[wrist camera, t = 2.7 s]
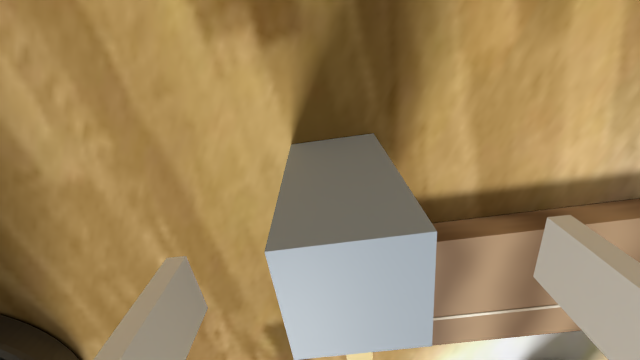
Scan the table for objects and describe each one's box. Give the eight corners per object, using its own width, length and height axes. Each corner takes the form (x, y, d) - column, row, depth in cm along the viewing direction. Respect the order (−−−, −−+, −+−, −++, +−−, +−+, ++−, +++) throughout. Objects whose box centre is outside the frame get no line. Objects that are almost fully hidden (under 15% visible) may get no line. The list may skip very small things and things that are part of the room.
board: (320, 333, 25) (321, 357, 23) (301, 239, 20) (300, 258, 19) (688, 295, 23) (720, 316, 21) (749, 185, 19) (796, 200, 17)
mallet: (325, 329, 24) (331, 496, 15) (291, 144, 18) (264, 251, 8) (384, 323, 24) (425, 488, 15) (373, 133, 17) (436, 231, 8)
